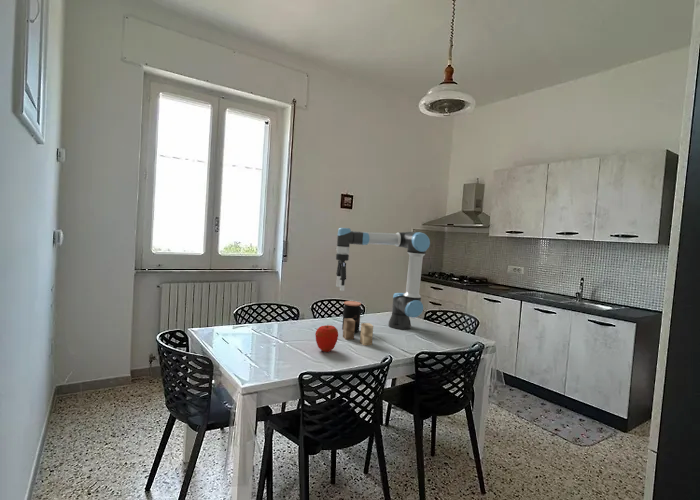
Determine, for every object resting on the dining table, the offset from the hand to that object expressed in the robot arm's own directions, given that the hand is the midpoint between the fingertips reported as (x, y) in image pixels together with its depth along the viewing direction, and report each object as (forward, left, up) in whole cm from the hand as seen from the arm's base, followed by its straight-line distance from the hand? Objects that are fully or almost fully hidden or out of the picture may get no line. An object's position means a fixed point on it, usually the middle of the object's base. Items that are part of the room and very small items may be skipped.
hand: (340, 288), depth 237 cm
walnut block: (-4, +9, -28) cm, 29 cm away
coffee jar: (-10, -5, -28) cm, 30 cm away
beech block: (-11, +20, -28) cm, 36 cm away
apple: (+15, +30, -28) cm, 44 cm away
